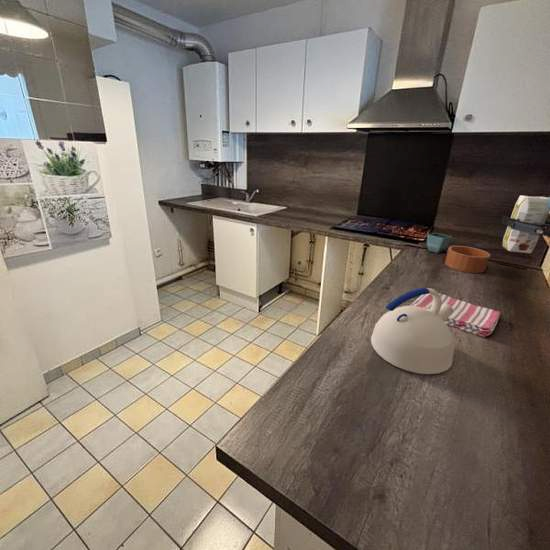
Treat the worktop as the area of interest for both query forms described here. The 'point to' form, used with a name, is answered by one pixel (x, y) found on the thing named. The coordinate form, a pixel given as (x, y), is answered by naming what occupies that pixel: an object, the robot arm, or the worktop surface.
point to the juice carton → (527, 212)
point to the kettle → (415, 335)
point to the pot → (467, 259)
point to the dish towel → (464, 314)
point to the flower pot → (437, 242)
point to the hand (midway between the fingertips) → (515, 220)
